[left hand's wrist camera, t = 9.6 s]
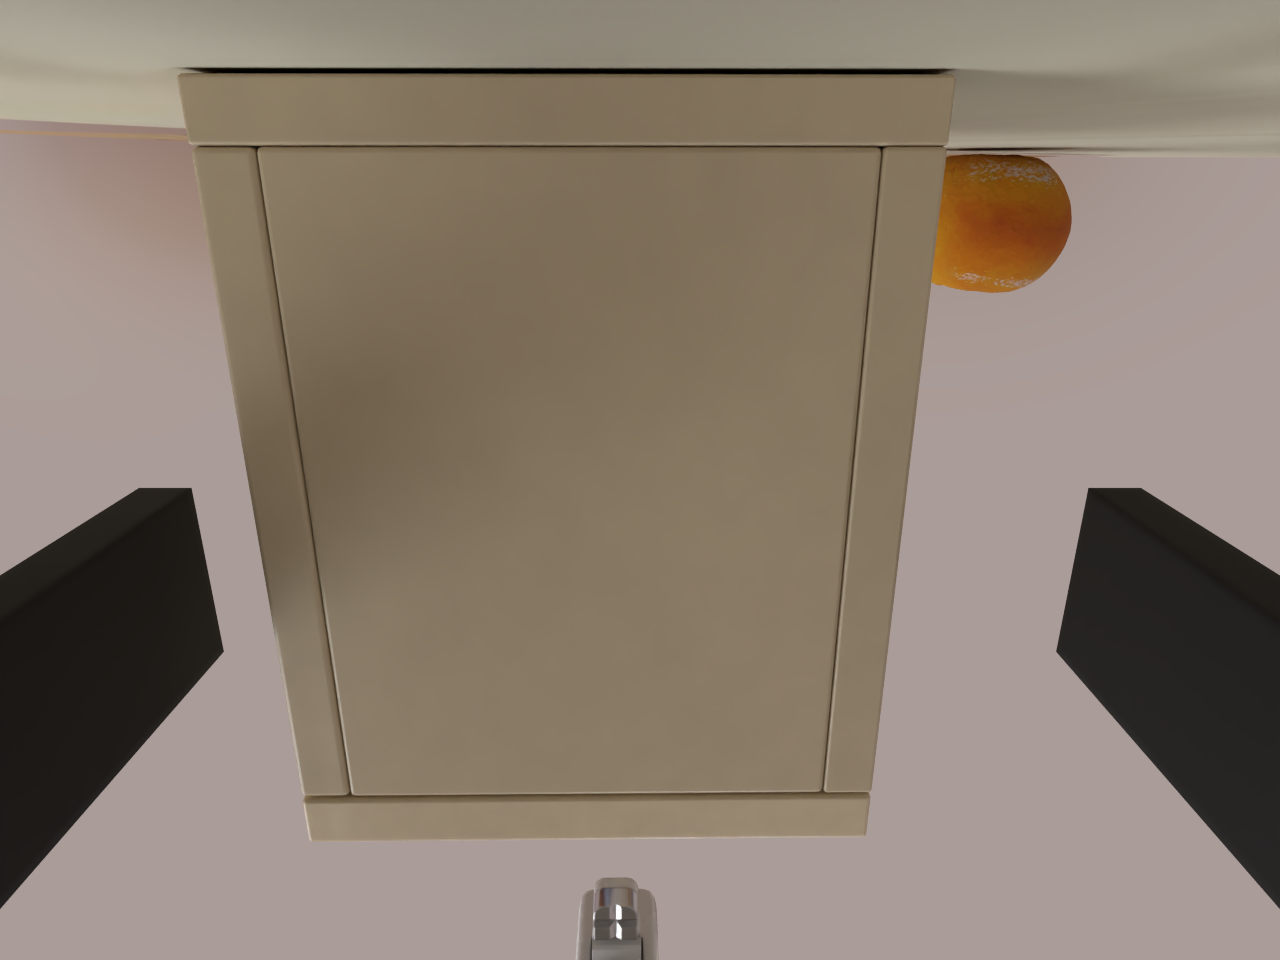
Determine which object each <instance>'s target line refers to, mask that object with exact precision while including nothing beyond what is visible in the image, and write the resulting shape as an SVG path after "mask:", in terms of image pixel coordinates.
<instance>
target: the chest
mask: <svg viewBox="0 0 1280 960" xmlns="http://www.w3.org/2000/svg"><path fill="white" fill-rule="evenodd" d="M177 79H178V85H179V91H180V97H181V103H182V108H183V114H184V120H185V126H186V132H187V137H188V142H189V143H190V144H191V145H193V146H198V147H196V148H194V149H193V151H192V157H193V163H194V169H195V174H196V180H197V186H198V192H199V198H200V204H201V209H202V215H203V221H204V227H205V232H206V238H207V244H208V250H209V256H210V261H211V267H212V273H213V279H214V285H215V291H216V296H217V302H218V308H219V314H220V320H221V325H222V331H223V337H224V343H225V349H226V355H227V360H228V366H229V372H230V378H231V384H232V389H233V395H234V401H235V407H236V412H237V418H238V424H239V430H240V436H241V442H242V447H243V453H244V459H245V465H246V471H247V476H248V482H249V488H250V494H251V500H252V505H253V511H254V517H255V523H256V529H257V535H258V540H259V546H260V552H261V558H262V564H263V569H264V575H265V581H266V587H267V593H268V598H269V604H270V610H271V616H272V622H273V627H274V633H275V639H276V645H277V651H278V656H279V662H280V668H281V674H282V680H283V686H284V691H285V697H286V703H287V709H288V715H289V720H290V726H291V732H292V738H293V743H294V749H295V755H296V761H297V767H298V773H299V778H300V784H301V790H302V793H303V794H304V795H307V796H318V795H346V794H348V793H349V792H350V790H351V793H352V794H353V795H479V794H603V793H727V792H818V791H821V789H822V787H823V790H824V791H825V792H869V791H871V788H872V780H873V771H874V763H875V754H876V746H877V737H878V729H879V721H880V712H881V703H882V695H883V687H884V678H885V670H886V661H887V653H888V644H889V636H890V627H891V619H892V610H893V602H894V594H895V585H896V576H897V568H898V560H899V551H900V543H901V534H902V526H903V517H904V509H905V500H906V492H907V483H908V475H909V466H910V458H911V450H912V441H913V433H914V424H915V416H916V407H917V399H918V390H919V382H920V373H921V365H922V356H923V348H924V339H925V331H926V322H927V314H928V306H929V297H930V289H931V280H932V272H933V263H934V255H935V246H936V238H937V229H938V221H939V212H940V204H941V195H942V187H943V179H944V170H945V162H946V153H947V151H946V148H945V147H943V146H945V145H947V143H948V139H949V130H950V122H951V113H952V105H953V96H954V88H955V76H954V75H952V74H346V73H181V74H179V75H178V76H177Z"/></svg>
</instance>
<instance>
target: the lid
mask: <svg viewBox="0 0 1280 960" xmlns="http://www.w3.org/2000/svg"><path fill="white" fill-rule="evenodd" d="M869 804H870V795H869V792H825V791H824V790H823V787H822V789H821V791H818V792H727V793H603V794H479V795H353V794H352V793H351V790H350V792H349V793H348V794H346V795H318V796H307V795H306V796H305V798H304V800H303V806H304V811H305V817H306V823H307V829H308V834H309V839H310V841H313V842H319V841H320V842H326V841H438V840H439V841H441V840H557V839H670V838H671V839H672V838H785V837H863V836H865V835H866V829H867V821H868V812H869Z"/></svg>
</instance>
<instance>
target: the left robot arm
mask: <svg viewBox="0 0 1280 960" xmlns="http://www.w3.org/2000/svg"><path fill="white" fill-rule="evenodd" d="M223 652H224V651H223V645H222V641H221V635H220V630H219V625H218V620H217V615H216V610H215V605H214V600H213V595H212V590H211V585H210V580H209V575H208V570H207V564H206V559H205V554H204V549H203V544H202V539H201V534H200V529H199V524H198V519H197V514H196V509H195V504H194V499H193V494H192V489H191V488H138V489H137V490H135V491H134V492H132V493H131V494H129V495H127V496H126V497H124V498H123V499H121V500H119V501H118V502H116V503H115V504H113V505H111V506H110V507H108V508H107V509H105V510H104V511H102V512H100V513H99V514H97V515H95V516H94V517H92V518H91V519H89V520H88V521H86V522H84V523H83V524H81V525H80V526H78V527H76V528H75V529H73V530H72V531H70V532H68V533H67V534H65V535H64V536H62V537H61V538H59V539H57V540H56V541H54V542H53V543H51V544H49V545H48V546H46V547H45V548H43V549H41V550H40V551H38V552H37V553H35V554H34V555H32V556H30V557H29V558H27V559H26V560H24V561H22V562H21V563H19V564H18V565H16V566H14V567H13V568H11V569H10V570H8V571H7V572H5V573H3V574H2V575H0V908H1V907H2V906H3V905H4V904H5V903H6V901H7V900H8V899H9V898H10V897H11V896H12V895H13V893H14V892H15V891H16V890H17V889H18V888H19V887H20V885H21V884H22V883H23V882H24V881H25V880H26V879H27V877H28V876H29V875H30V874H31V873H32V872H33V870H34V869H35V868H36V867H37V866H38V865H39V864H40V862H41V861H42V860H43V859H44V858H45V857H46V855H47V854H48V853H49V852H50V851H51V850H52V849H53V847H54V846H55V845H56V844H57V843H58V842H59V841H60V839H61V838H62V837H63V836H64V835H65V834H66V833H67V831H68V830H69V829H70V828H71V827H72V826H73V824H74V823H75V822H76V821H77V820H78V819H79V818H80V816H81V815H82V814H83V813H84V812H85V811H86V809H87V808H88V807H89V806H90V805H91V804H92V803H93V801H94V800H95V799H96V798H97V797H98V796H99V795H100V793H101V792H102V791H103V790H104V789H105V788H106V787H107V785H108V784H109V783H110V782H111V781H112V780H113V778H114V777H115V776H116V775H117V774H118V773H119V772H120V770H121V769H122V768H123V767H124V766H125V765H126V763H127V762H128V761H129V760H130V759H131V758H132V757H133V755H134V754H135V753H136V752H137V751H138V750H139V748H140V747H141V746H142V745H143V744H144V743H145V742H146V740H147V739H148V738H149V737H150V736H151V735H152V734H153V732H154V731H155V730H156V729H157V728H158V727H159V726H160V724H161V723H162V722H163V721H164V720H165V719H166V717H167V716H168V715H169V714H170V713H171V712H172V711H173V709H174V708H175V707H176V706H177V705H178V704H179V703H180V701H181V700H182V699H183V698H184V697H185V696H186V694H187V693H188V692H189V691H190V690H191V689H192V688H193V686H194V685H195V684H196V683H197V682H198V681H199V679H200V678H201V677H202V676H203V675H204V674H205V673H206V671H207V670H208V669H209V668H210V667H211V666H212V665H213V663H214V662H215V661H216V660H217V659H218V658H219V656H220V655H221V654H222V653H223ZM1056 652H1057V653H1058V654H1059V655H1060V657H1061V658H1062V659H1063V660H1064V661H1065V662H1066V663H1067V665H1068V666H1069V667H1070V668H1071V669H1072V670H1073V671H1074V673H1075V674H1076V675H1077V676H1078V677H1079V678H1080V680H1081V681H1082V682H1083V683H1084V684H1085V685H1086V686H1087V688H1088V689H1089V690H1090V691H1091V692H1092V693H1093V694H1094V696H1095V697H1096V698H1097V699H1098V700H1099V701H1100V703H1101V704H1102V705H1103V706H1104V707H1105V708H1106V709H1107V711H1108V712H1109V713H1110V714H1111V715H1112V716H1113V717H1114V719H1115V720H1116V721H1117V722H1118V723H1119V724H1120V726H1121V727H1122V728H1123V729H1124V730H1125V731H1126V732H1127V734H1128V735H1129V736H1130V737H1131V738H1132V739H1133V740H1134V742H1135V743H1136V744H1137V745H1138V746H1139V747H1140V749H1141V750H1142V751H1143V752H1144V753H1145V754H1146V755H1147V757H1148V758H1149V759H1150V760H1151V761H1152V762H1153V764H1154V765H1155V766H1156V767H1157V768H1158V769H1159V770H1160V772H1161V773H1162V774H1163V775H1164V776H1165V777H1166V778H1167V780H1168V781H1169V782H1170V783H1171V784H1172V785H1173V787H1174V788H1175V789H1176V790H1177V791H1178V792H1179V793H1180V795H1181V796H1182V797H1183V798H1184V799H1185V800H1186V801H1187V803H1188V804H1189V805H1190V806H1191V807H1192V808H1193V809H1194V811H1195V812H1196V813H1197V814H1198V815H1199V816H1200V818H1201V819H1202V820H1203V821H1204V822H1205V823H1206V824H1207V826H1208V827H1209V828H1210V829H1211V830H1212V831H1213V832H1214V834H1215V835H1216V836H1217V837H1218V838H1219V839H1220V841H1221V842H1222V843H1223V844H1224V845H1225V846H1226V847H1227V849H1228V850H1229V851H1230V852H1231V853H1232V854H1233V855H1234V857H1235V858H1236V859H1237V860H1238V861H1239V862H1240V864H1241V865H1242V866H1243V867H1244V868H1245V869H1246V870H1247V872H1248V873H1249V874H1250V875H1251V876H1252V877H1253V879H1254V880H1255V881H1256V882H1257V883H1258V884H1259V885H1260V887H1261V888H1262V889H1263V890H1264V891H1265V892H1266V893H1267V895H1268V896H1269V897H1270V898H1271V899H1272V900H1273V902H1274V903H1275V904H1276V905H1277V906H1278V907H1279V908H1280V575H1278V574H1277V573H1275V572H1273V571H1272V570H1270V569H1269V568H1267V567H1265V566H1264V565H1262V564H1261V563H1259V562H1258V561H1256V560H1254V559H1253V558H1251V557H1250V556H1248V555H1246V554H1245V553H1243V552H1242V551H1240V550H1238V549H1237V548H1235V547H1234V546H1232V545H1231V544H1229V543H1227V542H1226V541H1224V540H1223V539H1221V538H1219V537H1218V536H1216V535H1215V534H1213V533H1212V532H1210V531H1208V530H1207V529H1205V528H1204V527H1202V526H1200V525H1199V524H1197V523H1196V522H1194V521H1192V520H1191V519H1189V518H1188V517H1186V516H1184V515H1183V514H1181V513H1180V512H1178V511H1177V510H1175V509H1173V508H1172V507H1170V506H1169V505H1167V504H1165V503H1164V502H1162V501H1161V500H1159V499H1157V498H1156V497H1154V496H1153V495H1151V494H1150V493H1148V492H1146V491H1145V490H1143V489H1142V488H1088V494H1087V499H1086V504H1085V509H1084V514H1083V519H1082V524H1081V529H1080V534H1079V539H1078V544H1077V549H1076V554H1075V559H1074V564H1073V570H1072V575H1071V580H1070V585H1069V590H1068V595H1067V600H1066V605H1065V610H1064V615H1063V620H1062V625H1061V630H1060V635H1059V641H1058V646H1057V651H1056Z"/></svg>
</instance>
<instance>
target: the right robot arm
mask: <svg viewBox="0 0 1280 960" xmlns="http://www.w3.org/2000/svg"><path fill="white" fill-rule="evenodd" d="M576 960H659V957H658V931H657V909H656V903H655V899H654V896H653V894H652V893H651V892H650V891H648V890H645V889H638V885H637V883H636V882H635V881H634V880H633V879H631V878H602V879H600V880H598V881H597V882H596V883H595V885H594V889H593V890H589V891H587V892H586V893H584V895H583V896H582V899H581V902H580V908H579V918H578V933H577V948H576Z"/></svg>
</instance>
